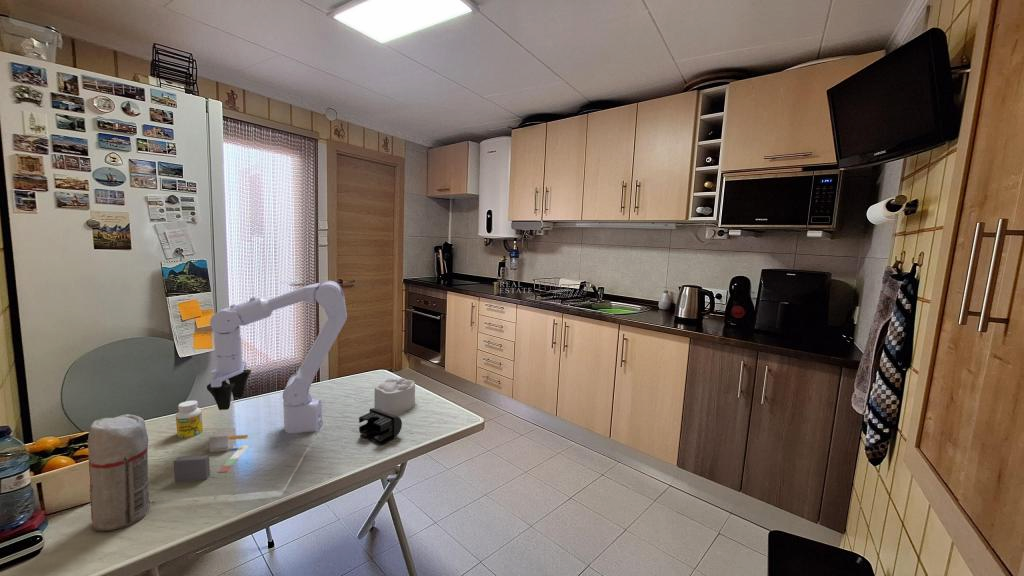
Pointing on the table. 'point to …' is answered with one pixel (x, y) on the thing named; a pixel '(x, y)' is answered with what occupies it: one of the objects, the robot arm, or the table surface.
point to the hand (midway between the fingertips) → (231, 403)
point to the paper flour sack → (118, 471)
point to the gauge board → (200, 466)
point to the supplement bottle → (189, 419)
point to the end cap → (379, 427)
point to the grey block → (224, 439)
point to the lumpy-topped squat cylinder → (395, 395)
